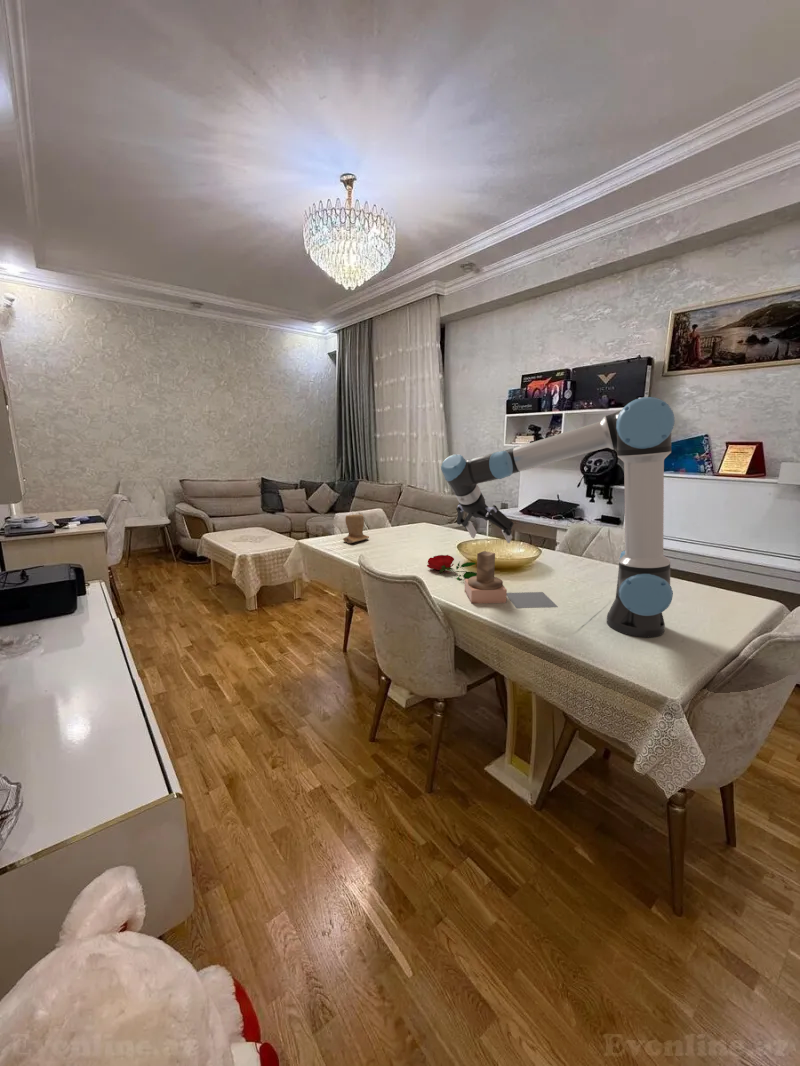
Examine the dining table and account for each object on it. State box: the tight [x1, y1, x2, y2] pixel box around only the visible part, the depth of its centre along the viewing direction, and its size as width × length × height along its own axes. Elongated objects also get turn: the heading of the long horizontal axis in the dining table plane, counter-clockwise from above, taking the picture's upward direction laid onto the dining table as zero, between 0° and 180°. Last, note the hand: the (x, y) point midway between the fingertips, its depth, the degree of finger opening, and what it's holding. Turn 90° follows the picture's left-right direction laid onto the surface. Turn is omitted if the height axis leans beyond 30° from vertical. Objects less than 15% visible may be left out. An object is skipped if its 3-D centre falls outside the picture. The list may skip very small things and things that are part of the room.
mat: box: [506, 591, 559, 609], centre depth 149 cm, size 14×14×1 cm
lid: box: [468, 550, 504, 590], centre depth 150 cm, size 12×12×11 cm
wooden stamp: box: [342, 513, 370, 544], centre depth 234 cm, size 15×12×15 cm
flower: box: [426, 554, 477, 581], centre depth 174 cm, size 9×9×30 cm
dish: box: [464, 578, 508, 604], centre depth 152 cm, size 12×12×5 cm
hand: (491, 537), depth 148 cm, fingers open, 13 cm apart
